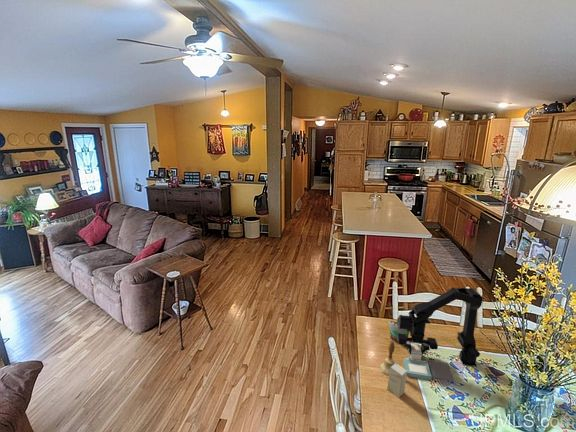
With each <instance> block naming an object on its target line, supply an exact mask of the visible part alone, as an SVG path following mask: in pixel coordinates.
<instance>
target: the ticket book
mask: <svg viewBox="0 0 576 432" xmlns="http://www.w3.org/2000/svg"><path fill="white" fill-rule="evenodd" d="M403 365H404V369H406V370H407V371H408V372H407V377H409V378H410V377H411V378H416V379H423V380H430V381H431V380H432V379H433V376H432V372H431V369H430V366H429V362H428V360H426V361H425V360H421V361H420V360H414V359H411V358H407V357H403Z"/></svg>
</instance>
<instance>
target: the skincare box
mask: <svg viewBox="0 0 576 432" xmlns="http://www.w3.org/2000/svg"><path fill="white" fill-rule="evenodd" d="M407 372H408V371H407V370H406V369H405V367H402V366H401V365H399V364H398V363H396V362H395V364H394V365H392V366H391V367H390V374H389V375H388V381H387V390H388V391H389V392H391V393H392V394H394V395H395V396H396V397H397V398H400V397H401V396H403V394H405V389H406V384H407V378H408V376H407Z"/></svg>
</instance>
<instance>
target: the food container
mask: <svg viewBox="0 0 576 432" xmlns="http://www.w3.org/2000/svg"><path fill="white" fill-rule="evenodd" d="M388 326H389V337H390V339H391V340H392V341H393V342H394V343H398V340H397V334H398V333H400V334H405V335H406V337H408V338H409V335H410V332H409V331H407V330H406V329H399V328H398V326H397V321H392V320H391V319H389V321H388Z"/></svg>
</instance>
